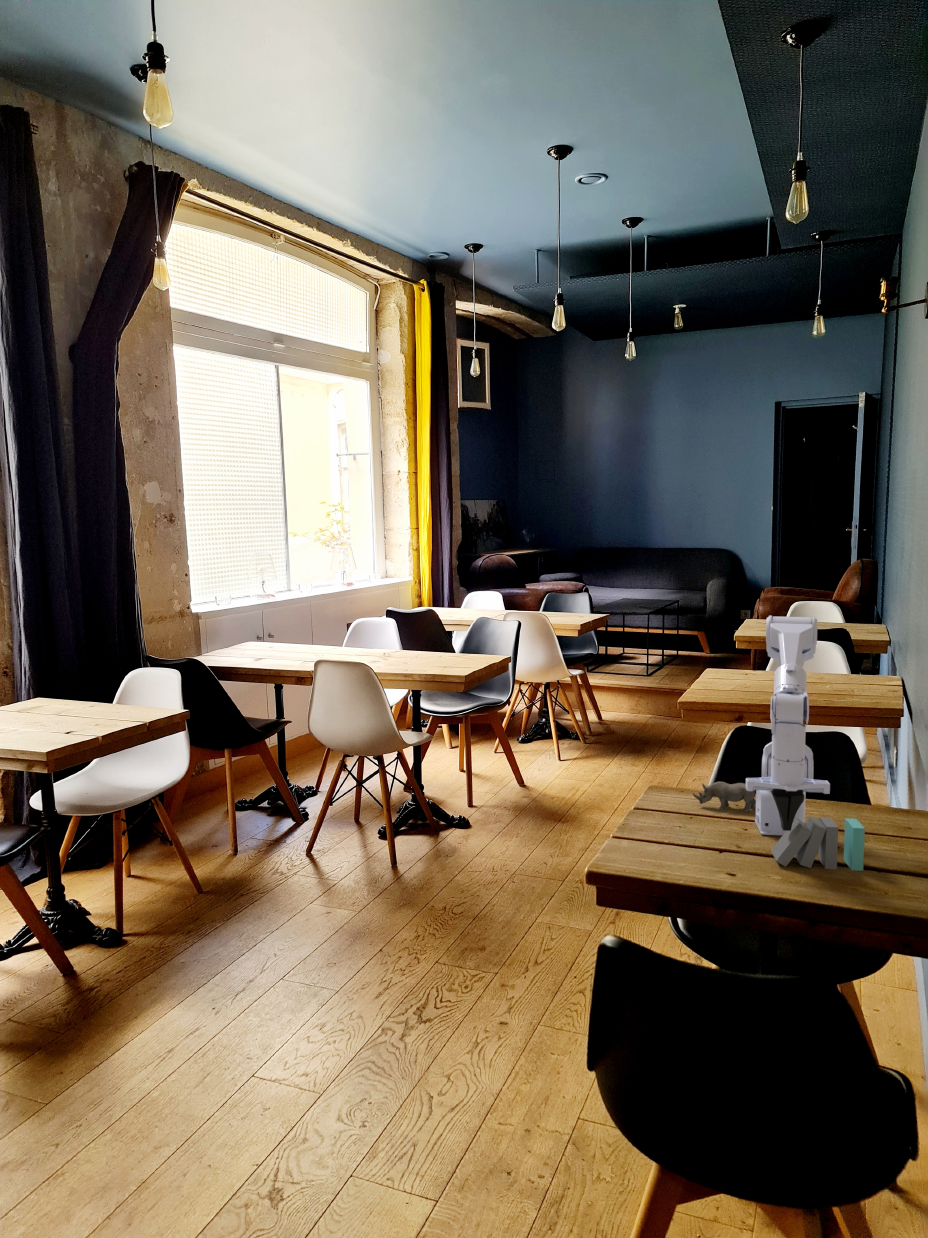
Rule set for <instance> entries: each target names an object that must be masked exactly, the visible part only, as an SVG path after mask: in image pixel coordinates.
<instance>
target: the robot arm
mask: <svg viewBox="0 0 928 1238" xmlns="http://www.w3.org/2000/svg"><path fill="white" fill-rule="evenodd" d="M765 621H766V623H765V624H766V625H765V643H766V652H767V657H769V658H771V659H773V660H775V661H776V663H777V669H775V672H774V675H773V676H774V677H773V681H774V682H773V695H771V696H770V714H769V716H770V725H771V734H772V735H771V741H770V742H769V743H767V744H766V745H765V746H764V748H763V753H762V756H761V757H762V758H761V777H746V778H745V784H746V790H747V791H753V790H755V800H756V809H755V817H754V818H755V819H754V822H755V825H756V827H757V828H758V830H759V833H760V835H763V836H764V835H765V836H783V834H784V833H785V832H786V831H791V827H792V823H793V822H794V820H795V819H796V818H798V819H799V820H801V821H802V822H804V823H805V824H806V793H823V794H824V795H828V794H829V795H830V791H831V783H830V782H829V781H828V780H823V779H822V780H821V779H814V753H813V751H812V748H810V747H809V746H808V745H807V744H806V731H807V730H806V729H807V728H806V727H807V726H808V724H809V720H810V719H809V716H810V699H809V694H808V690H807V673H806V671H805V669H804V668H803V667H804V664H805V662H807V661H809V660H812V659H814V657H815V654H816V649H817V648H816V647H817V643H818V619H817V618H816V616H811V617H809V616H806V617H805V616H773V615H768V617H766V619H765ZM804 720H805V723H806V724H805V723H804Z"/></svg>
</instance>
